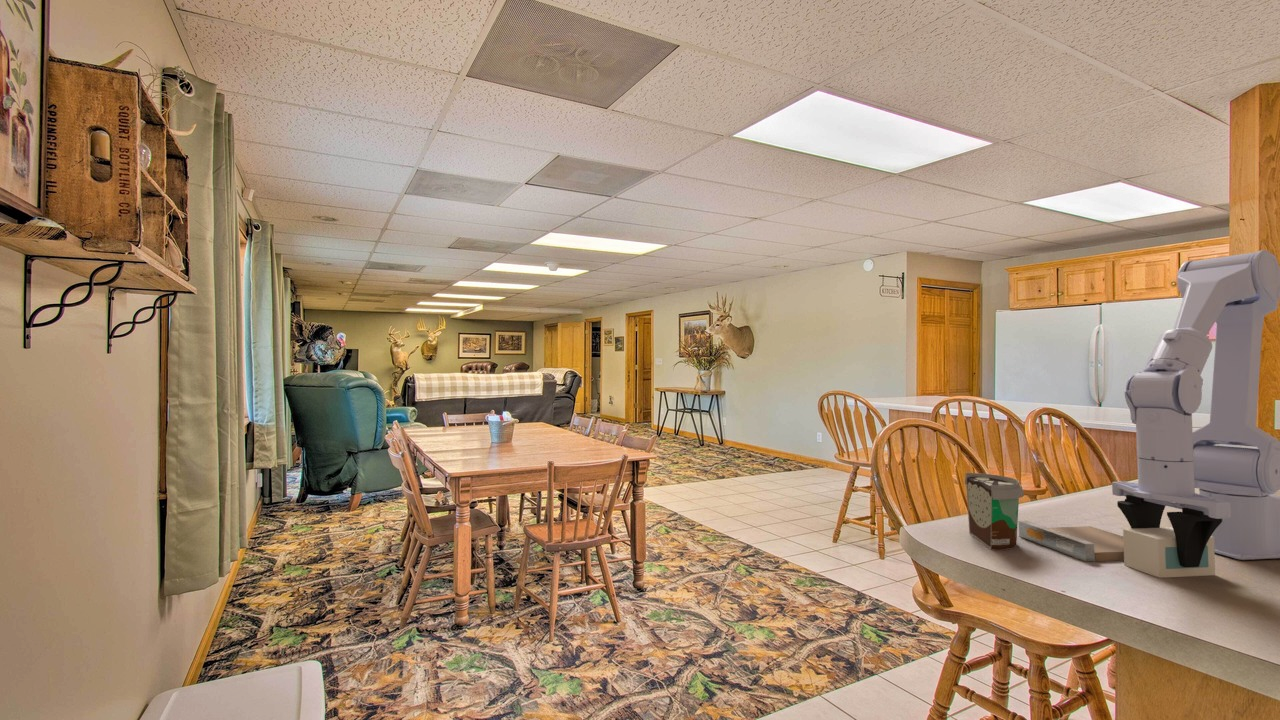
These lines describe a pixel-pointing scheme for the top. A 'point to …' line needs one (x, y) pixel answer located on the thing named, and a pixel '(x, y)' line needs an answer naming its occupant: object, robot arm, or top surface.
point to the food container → (993, 509)
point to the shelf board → (1098, 541)
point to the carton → (1162, 553)
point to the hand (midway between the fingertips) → (1168, 559)
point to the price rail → (1057, 541)
